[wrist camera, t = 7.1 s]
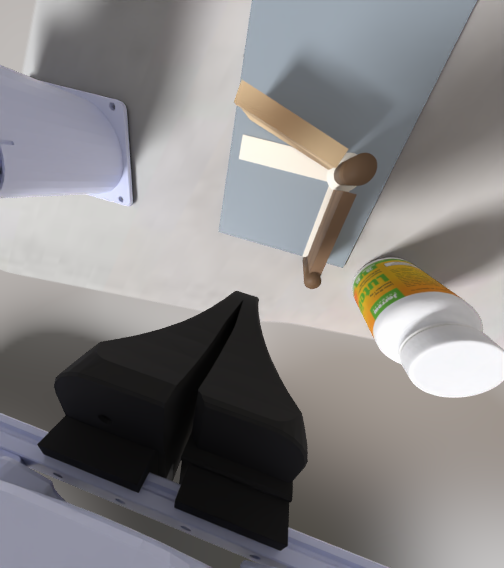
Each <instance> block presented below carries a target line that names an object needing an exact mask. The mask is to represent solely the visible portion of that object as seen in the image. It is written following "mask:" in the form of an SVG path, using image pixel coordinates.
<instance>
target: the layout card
mask: <svg viewBox="0 0 504 568" xmlns="http://www.w3.org/2000/svg"><path fill="white" fill-rule="evenodd" d="M476 2H477V0H252V4H251V11H250V18H249V25H248V32H247V39H246V46H245V53H244V59H243V66H242V73H241V80H240V83H241V81H242V80H244V81H245V82H247V83H248V84H250V85H251V86H253V87H254V88H256V89H257V90H259V91H260V92H262V93H264V94H265V95H267V96H268V97H270V98H271V99H273V100H274V101H276V102H277V103H279V104H280V105H282V106H283V107H285V108H287V109H288V110H290V111H291V112H293V113H294V114H296V115H297V116H299V117H300V118H302V119H303V120H305V121H306V122H308V123H310V124H311V125H313V126H314V127H316V128H317V129H319V130H320V131H322V132H323V133H325V134H326V135H328V136H329V137H331V138H333V139H334V140H336V141H337V142H339V143H340V144H342V145H343V146H345V147H346V148H348V151H347V152H346V154H345V155H344V157H343V158H342V160H341V161H340V163H342V162H344V161H346V160H348V159H350V158H352V157H354V156H356V155H358V154H360V153H370V154H372V155H373V156H374V157H375V158H376V160H377V171H376V173H375V175H374V177H373V178H372V179H371V180H370V181H369V182H368V183H366V184H364V185H361V186H346V185H339V184H337V183H336V182H335V180H334V171H335V169H336V168H332V169H330V170H328V169H326V168H325V167H323V166H322V165H320V164H318V163H317V162H315V161H314V160H312V159H311V158H309V157H307V156H306V155H304V154H303V153H301V152H300V151H298V150H297V149H295V148H293V147H292V146H290V145H289V144H287V143H286V142H284V141H282V140H281V139H279V138H278V137H276V136H275V135H273V134H272V133H270V132H268V131H267V130H265V129H264V128H262V127H261V126H259V125H258V124H256V123H254V122H253V121H251V120H250V119H249V118H248V117H247V115H246V114H245V113H244V111H243V110H242V109H241V108H240V107H239V106H237V108H236V115H235V122H234V129H233V136H232V143H231V150H230V157H229V164H228V171H227V178H226V184H225V191H224V198H223V205H222V212H221V219H220V226H219V232H221V233H224V234H228V235H231V236H235V237H238V238H241V239H245V240H248V241H252V242H255V243H259V244H262V245H266V246H269V247H272V248H276V249H279V250H283V251H286V252H290V253H293V254H297V255H300V256H303V257H306V256H308V254H309V251H310V249H311V246H312V243H313V241H314V238H315V236H316V233H317V231H318V228H319V226H320V223H321V220H322V218H323V215H324V213H325V210H326V208H327V205H328V203H329V200H330V197H331V195H332V192H333V190H340V191H346V192H349V193H353V194H357V196H356V198H355V200H354V202H353V204H352V207H351V209H350V211H349V213H348V216H347V218H346V220H345V222H344V224H343V227H342V229H341V231H340V233H339V236H338V238H337V240H336V242H335V244H334V247H333V249H332V251H331V253H330V256H329V258H328V260H327V262H326V263H328V264H331V265H335V266H338V267H342V268H343V267H344V265H345V263H346V261H347V259H348V257H349V255H350V253H351V251H352V249H353V247H354V245H355V243H356V241H357V239H358V237H359V235H360V233H361V231H362V229H363V227H364V225H365V223H366V221H367V219H368V217H369V215H370V213H371V211H372V209H373V207H374V205H375V203H376V201H377V199H378V197H379V195H380V193H381V191H382V189H383V187H384V185H385V183H386V181H387V179H388V177H389V175H390V173H391V171H392V169H393V167H394V165H395V163H396V161H397V159H398V157H399V155H400V153H401V151H402V149H403V147H404V145H405V143H406V141H407V139H408V137H409V135H410V133H411V131H412V129H413V127H414V125H415V123H416V121H417V119H418V117H419V115H420V113H421V111H422V109H423V107H424V105H425V104H426V102H427V100H428V98H429V96H430V94H431V92H432V90H433V88H434V86H435V84H436V82H437V80H438V78H439V76H440V74H441V72H442V70H443V68H444V66H445V64H446V62H447V60H448V58H449V56H450V54H451V52H452V50H453V48H454V46H455V44H456V42H457V40H458V38H459V36H460V34H461V32H462V30H463V28H464V26H465V24H466V22H467V20H468V18H469V16H470V14H471V12H472V10H473V8H474V6H475V4H476ZM340 163H339V164H340Z"/></svg>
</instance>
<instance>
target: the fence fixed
mask: <svg viewBox="0 0 504 568" xmlns="http://www.w3.org/2000/svg"><path fill="white" fill-rule="evenodd" d="M376 171H377V160H376V158H375V157H374V156H373V155H372V154H370V153H360V154H358V155H356V156H354V157H352V158H350V159H348V160H346V161H344V162H342V163H340V164H339V165H338V166H337V168H336V169H335V171H334V180H335V182H336V183H337V184H339V185H346V186H361V185H364V184H366V183H368V182H369V181H370V180H371V179H372V178H373V177H374V175H375V173H376ZM356 196H357V194H353V193H349V192H346V191H340V190H333V192H332V195H331V197H330V200H329V203H328V205H327V208H326V210H325V213H324V215H323V218H322V220H321V223H320V226H319V228H318V231H317V233H316V236H315V238H314V241H313V243H312V246H311V249H310V251H309V254H308V256H306V257H304V258H303V272H304V284H305V286H306V287H308V288H310V289H315V288H317V287H319V286H320V284H321V278H320V276H321V273H322V271H323V269H324V267H325V265H326V262H327V260H328V258H329V256H330V253H331V251H332V249H333V247H334V244H335V242H336V240H337V238H338V236H339V233H340V231H341V229H342V227H343V224H344V222H345V220H346V218H347V216H348V213H349V211H350V209H351V207H352V204H353V202H354V200H355V198H356Z"/></svg>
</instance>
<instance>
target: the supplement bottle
mask: <svg viewBox="0 0 504 568" xmlns="http://www.w3.org/2000/svg"><path fill="white" fill-rule="evenodd" d="M352 293H353V296H354V298H355V301H356V303H357V305H358V307H359V309H360V311H361V313H362V315H363V317H364V319H365V321H366V323H367V325H368V327H369V329H370V331H371V333H372V335H373V338H374V340H375V341H376V343H377V345H378V346H379V348H380V350H381V351H382V352H383V353H384V354H385V355H386V356H388V357H389V358H390V359H392V360H394V361H395V362H398V363H400V364H402V366H403V367H404V369H405V371H406V373H407V374H408V376H409V378H410V379H411V381H412V382H413V383H414V384H415V385H416V386H417V387H418V388H419V389H421V390H423V391H425V392H427V393H429V394H433V395H436V396H441V397H466V396H472V395H476V394H480V393H483V392H486V391H488V390H490V389H492V388H494V387H496V386H497V385H499V384H500V383H501V382H502V381H504V350H503V349H502V348H501V347H500V346H498V345H497V344H496V343H495V342H494V341H492V340H491V339H490V338H489V337H488V336H487V335H486V334H484V333H483V324H482V320H481V318H480V316H479V314H478V313H477V312H476V310H475V309H474V308H473V307H472V306H471V305H469V304H468V303H467V302H466V301H464V300H463V299H462V298H460V297H459V296H457V295H456V294H455V293H453V292H452V291H450V290H449V289H447V288H446V287H445V286H443V285H442V284H440V283H439V282H437V281H436V280H435V279H433V278H432V277H430V276H429V275H428V274H426V273H425V272H423V271H422V270H420V269H419V268H418V267H416V266H415V265H413V264H412V263H410V262H408V261H406V260H404V259H400V258H394V257H388V258H381V259H377V260H375V261H372V262H370V263H368V264H367V265H365V266H364V267H363V268H361V269H360V270H359V272H358V273H357V274H356V276H355V278H354V280H353V283H352Z"/></svg>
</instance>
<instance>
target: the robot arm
mask: <svg viewBox="0 0 504 568" xmlns="http://www.w3.org/2000/svg"><path fill="white" fill-rule="evenodd" d="M113 105H115V110H114V108H113ZM80 194H87V195H90V196H94V197H97V198H101V199H104V200H108V201H111V202H114V203H118V204H121V205H125V206H131V205H132V204H133V195H132V180H131V165H130V150H129V135H128V120H127V109H126V106H125V104H124V103H123V102H121V101H119V100H117V99H112V98H108V97H104V96H100V95H96V94H92V93H88V92H84V91H80V90H76V89H72V88H68V87H64V86H60V85H56V84H52V83H48V82H44V81H39V80H37V79H34V78H32V77H29V76H27V75H24V74H22V73H19V72H17V71H14V70H12V69H9V68H6V67H4V66H2V65H0V198H17V197H38V196H59V195H80ZM122 198H123V200H122ZM258 302H259V299H258V297H255V296H251V295H248V294H245V293H242V292H239V291H235V292H233V293H232V294H231V295H229V296H228V297H226V298H225V299H224V300H222V301H221V302H219V303H217V304H216V305H214V306H213V307H211V308H209V309H207V310H206V311H204V312H202V313H200V314H198V315H196V316H194V317H192V318H190V319H187V320H185V321H183V322H180V323H177V324H174V325H171V326H169V327H166V328H162V329H159V330H155V331H152V332H148V333H144V334H140V335H136V336H131V337H126V338H121V339H115V340H110V341H103V342H100V343H98V344H97V345H96V346H94V347H93V348H92V349H91V350H89V351H88V352H86V353H85V354H84V355H83V356H81V357H80V358H79V359H78V360H76V361H75V362H74V363H73V364H72V365H70V366H69V367H68V368H67V369H65V370H64V371H63V372H62V373H60V374H59V375H58V376H57V377H56V379H55V384H54V388H55V391H56V394H57V397H58V399H59V401H60V403H61V406H62V408H63V410H64V412H65V414H66V416H65V417H64V418H63V419H62V420H61V421H60V422H59V423H58V424H57V425H56V426H55V427H54V428H53V429H52V430H51V431H50V432H47V431H44V430H42V429H39V428H37V427H34V426H32V425H29V424H27V423H24V422H22V421H19V420H17V419H14V418H12V417H9V416H7V415H4V414H2V413H0V568H212V567H210V566H208V565H206V564H204V563H202V562H200V561H198V560H196V559H194V558H192V557H190V556H188V555H186V554H184V553H182V552H180V551H178V550H176V549H174V548H172V547H169V546H168V545H166V544H164V543H162V542H160V541H157V540H155V539H153V538H151V537H149V536H146V535H144V534H142V533H140V532H138V531H135V530H133V529H131V528H129V527H127V526H124V525H122V524H120V523H117V522H115V521H113V520H110V519H108V518H105V517H103V516H100V515H98V514H96V513H93V512H91V511H88V510H86V509H83V508H81V507H78V506H75V505H73V504H70V503H67V502H66V501H65V500H64V499H63V498H62V497H61V496H60V495H59V494H58V493H57V491H56V490H55V489H54V486H53V483H52V481H51V480H49V479H47V478H45V477H44V476H42V475H40V474H39V473H37V472H35V471H34V470H36V471H39V472H41V473H44V474H46V475H49V476H51V477H53V478H56V479H58V480H61V481H63V482H65V483H68V484H70V485H72V486H75V487H77V488H80V489H82V490H84V491H87V492H89V493H92V494H94V495H97V496H99V497H101V498H104V499H106V500H108V501H111V502H113V503H116V504H118V505H121V506H123V507H125V508H128V509H130V510H133V511H135V512H137V513H140V514H142V515H145V516H147V517H149V518H152V519H154V520H157V521H159V522H161V523H164V524H166V525H169V526H171V527H173V528H176V529H178V530H181V531H183V532H185V533H188V534H190V535H193V536H195V537H197V538H200V539H202V540H205V541H207V542H209V543H212V544H214V545H217V546H219V547H222V548H224V549H226V550H229V551H231V552H233V553H236V554H238V555H241V556H243V557H245V558H248V559H251V560H253V561H255V562H257V563H255V562H251V561H246V560H244V561H243V562H242V563H241V566H240V568H389V567H387V566H384V565H381V564H379V563H377V562H374V561H371V560H369V559H366V558H364V557H361V556H359V555H356V554H354V553H351V552H349V551H346V550H344V549H341V548H339V547H336V546H334V545H331V544H329V543H326V542H324V541H321V540H319V539H316V538H314V537H311V536H308V535H306V534H304V533H301V532H298V531H296V530H293V529H291V528H288V522H289V502H291V501H292V490H293V480H294V479H295V478H296V476H297V475H298V474H299V473H300V472H301V471H302V470H303V469H304V467H305V466H306V464H307V462H308V461H307V454H308V452H307V440H306V433H305V427H304V422H303V417H302V413H301V411H300V410H299V408H298V407H297V405H296V404H295V402H294V401H293V399H292V397H291V396H290V394H289V393H288V391H287V389H286V388H285V386H284V384H283V382H282V380H281V379H280V377H279V374H278V372H277V370H276V368H275V366H274V364H273V362H272V360H271V357H270V355H269V353H268V350H267V347H266V344H265V341H264V338H263V335H262V330H261V326H260V320H259V312H258ZM181 460H182V465H181V473H180V482H179V484H178V483H175V482H173V479H174V476H175V473H176V471H177V468H178V466H179V463H180V461H181ZM30 468H32V469H34V470H32V469H30ZM259 563H260V564H259Z"/></svg>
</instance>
